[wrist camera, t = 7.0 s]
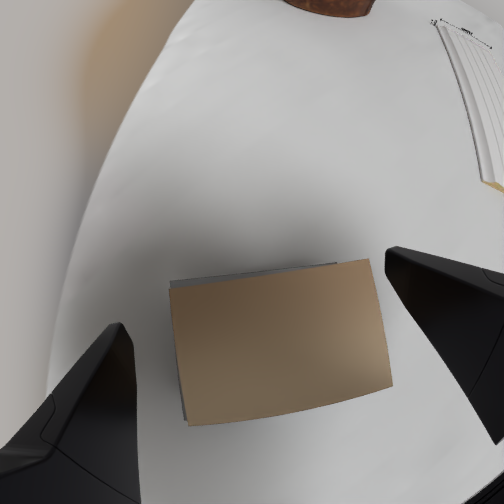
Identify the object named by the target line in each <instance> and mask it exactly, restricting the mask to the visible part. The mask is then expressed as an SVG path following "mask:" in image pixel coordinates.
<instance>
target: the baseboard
mask: <svg viewBox="0 0 504 504" xmlns="http://www.w3.org/2000/svg"><path fill="white" fill-rule="evenodd" d="M440 20H442V19H440ZM432 21H433V20H432ZM442 21H443V20H442ZM444 22H445V21H444ZM431 23H432V22H431ZM436 23H437V20H436ZM436 23H435V22H434V26H435V25H436ZM446 23H447V22H446ZM448 24H449V23H448ZM450 25H451V24H450ZM452 26H453V25H452ZM436 27H437V29H438V32H439V34H440V36H441V38H442V41H443V43H444V46H445V48H446V50H447V53H448V56H449V58H450V61H451V63H452V66H453V69H454V72H455V75H456V77H457V80H458V83H459V86H460V90H461V93H462V96H463V99H464V103H465V106H466V110H467V114H468V117H469V121H470V125H471V129H472V134H473V138H474V143H475V147H476V152H477V157H478V163H479V169H480V175H481V181H482V182H483V183H485V184H487V185H489V186H491V187H493V188H495V189H497V190H499V191H501V192H503V193H504V77H503V75H502V73H501V71H500V69H499V67H498V65H497V63H496V61H495V59H494V57H493V56H492V54H491V52H490V51H489V50H487V49H486V48H484V47H482V46H481V45H479V44H477V43H475V42H473V41H472V40H470V39H468V38H466V37H465V36H463V35H461V34H459V33H457V32H456V31H453V30H451V29H449V28H448V27H446V26H438V25H437V26H436ZM454 27H455V26H454ZM456 28H457V27H456ZM458 29H459V28H458ZM461 29H462V30H464V31H466V32H467V34H468V32H469V34H470V31H468V30H465V29H464V28H461ZM464 31H463V32H464ZM466 32H465V33H466ZM472 34H473V33H471V35H472ZM472 37H473V36H472ZM474 38H475V37H474ZM477 40H478V39H477ZM479 41H480V40H479ZM482 43H483V42H482ZM484 44H485V43H484ZM487 46H488V45H487ZM490 49H492V47H490Z"/></svg>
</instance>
